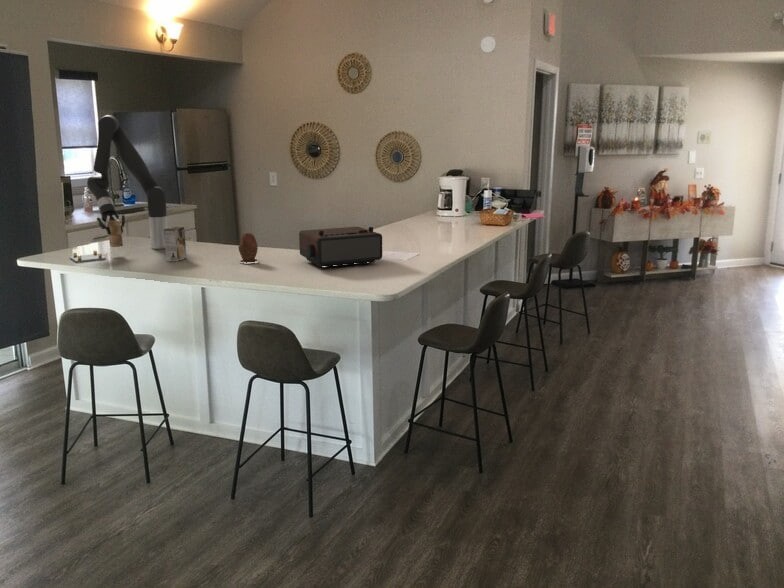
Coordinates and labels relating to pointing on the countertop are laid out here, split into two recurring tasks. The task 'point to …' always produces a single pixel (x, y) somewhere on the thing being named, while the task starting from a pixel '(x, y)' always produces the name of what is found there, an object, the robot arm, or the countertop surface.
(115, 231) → the walnut block
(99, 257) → the dock
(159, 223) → the robot arm
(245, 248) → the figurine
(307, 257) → the radio receiver
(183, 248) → the coffee box
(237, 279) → the countertop surface
